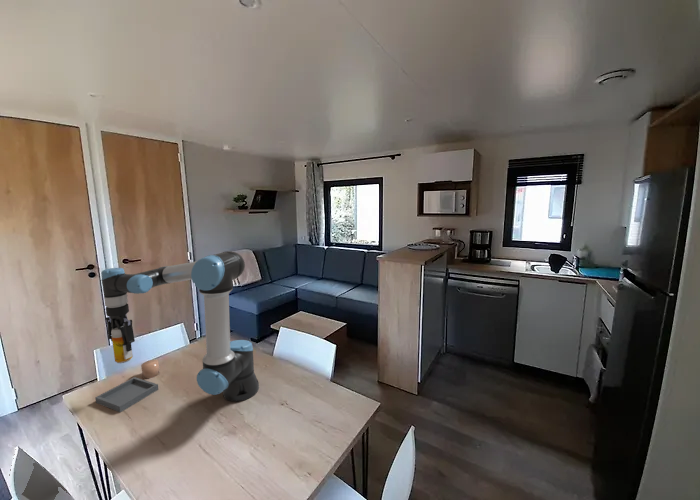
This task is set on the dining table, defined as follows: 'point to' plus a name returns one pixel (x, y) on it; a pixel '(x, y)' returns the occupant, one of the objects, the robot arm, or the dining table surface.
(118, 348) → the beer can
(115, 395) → the tray
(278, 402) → the dining table surface
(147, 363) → the light brown rounded lump
